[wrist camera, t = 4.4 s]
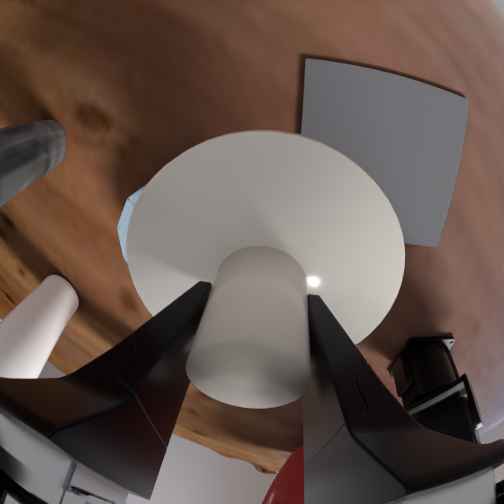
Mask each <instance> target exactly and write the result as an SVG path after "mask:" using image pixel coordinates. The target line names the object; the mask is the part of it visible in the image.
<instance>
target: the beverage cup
mask: <svg viewBox="0 0 504 504" xmlns="http://www.w3.org/2000/svg"><path fill="white" fill-rule="evenodd" d="M65 153H66V137H65V134H64V131H63V129H62V127H61V126H60V124H59V123H57V122H56V121H55V120H50V119H49V120H46V121H45V120H43V121H33V122H28V123H23V124H18V125H14V126H9V127H5V128H1V129H0V207H2V206H3V205H4V204H5V203H7V202H8V201H9V200H10V199H12V198H13V197H14V196H16V195H17V194H18V193H20V192H21V191H22V190H24V189H25V188H26V187H28V186H29V185H30V184H32V183H33V182H35V181H36V180H38V179H39V178H40V177H42V176H43V175H45V174H46V173H48V172H49V171H50V170H51V169H53V168H54V167H56V166H57V165H59V164H60V163H61V161H62V160H63V158H64V155H65Z"/></svg>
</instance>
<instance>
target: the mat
mask: <svg viewBox="0 0 504 504" xmlns="http://www.w3.org/2000/svg"><path fill="white" fill-rule="evenodd" d="M468 110H469V100H468V99H465V98H463V97H461V96H458V95H456V94H453V93H451V92H448V91H445V90H443V89H440V88H437V87H434V86H431V85H428V84H425V83H422V82H419V81H416V80H413V79H409V78H406V77H402V76H399V75H395V74H391V73H387V72H383V71H379V70H375V69H370V68H365V67H360V66H355V65H350V64H344V63H338V62H331V61H324V60H317V59H308V58H306V59H305V76H304V93H303V109H302V124H301V135H303V136H306V137H309V138H312V139H315V140H318V141H321V142H323V143H325V144H327V145H329V146H331V147H333V148H335V149H337V150H339V151H340V152H342V153H343V154H344V155H346V156H347V157H349V158H350V159H351V160H353V161H354V162H356V163H357V164H358V165H359V166H360V167H361V168H362V169H363V170H364V171H365V172H366V173H367V174H368V175H369V176H370V177H371V178H372V179H373V180H374V181H375V183H376V184H377V185H378V186H379V188H380V189H381V190H382V192H383V193H384V194H385V196H386V197H387V199H388V200H389V202H390V204H391V206H392V208H393V210H394V212H395V214H396V216H397V218H398V221H399V224H400V227H401V231H402V234H403V240H404V243H405V244H413V245H422V246H430V247H437V244H438V242H439V239H440V236H441V233H442V230H443V227H444V223H445V220H446V217H447V213H448V210H449V207H450V203H451V199H452V196H453V192H454V188H455V184H456V180H457V175H458V171H459V166H460V161H461V156H462V151H463V145H464V140H465V133H466V126H467V119H468Z"/></svg>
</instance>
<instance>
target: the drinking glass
mask: <svg viewBox="0 0 504 504" xmlns="http://www.w3.org/2000/svg"><path fill="white" fill-rule="evenodd" d="M78 306H79V299H78V296H77V293H76V291H75V290H74V288H73V287H72V286H71V284H70V283H69V282H68V281H67V280H65V279H64V278H62V277H61V276H58V275H50V276H48V277H47V278H46V279H45V280H44V281H43V282H42V283H41V284H40V285H39V286H38V287H37V288H36V289H35V290H33V291H32V292H31V293H30V294H29V295H28V296H27V297H26V298H25V299H24V300H23V301H22V302H21V303H19V304H18V305H17V306H16V307H15V308H14V309H13V310H12V311H11V312H10V313H9V314H8V315H7V316H6V317H5V318H4V319H3V320H2V321H1V322H0V377H4V378H38V377H39V375H40V373H41V371H42V369H43V367H44V365H45V363H46V361H47V359H48V357H49V355H50V353H51V351H52V349H53V348H54V346H55V344H56V342H57V340H58V338H59V337H60V335H61V333H62V331H63V330H64V328H65V326H66V325H67V323H68V321H69V320H70V318H71V317H72V315H73V314H74V313H75V311H76V310H77V308H78Z"/></svg>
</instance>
